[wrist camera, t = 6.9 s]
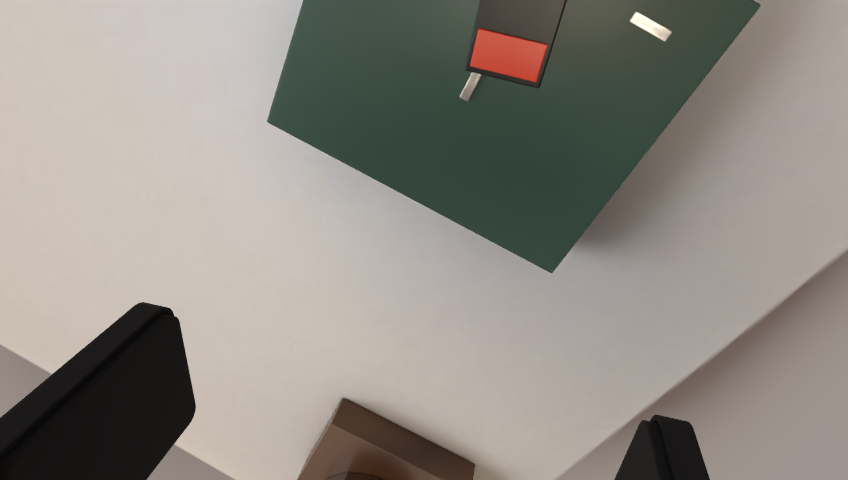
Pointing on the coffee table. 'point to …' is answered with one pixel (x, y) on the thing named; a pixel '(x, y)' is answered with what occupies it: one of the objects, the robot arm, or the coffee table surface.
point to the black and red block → (514, 39)
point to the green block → (498, 106)
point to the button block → (378, 451)
